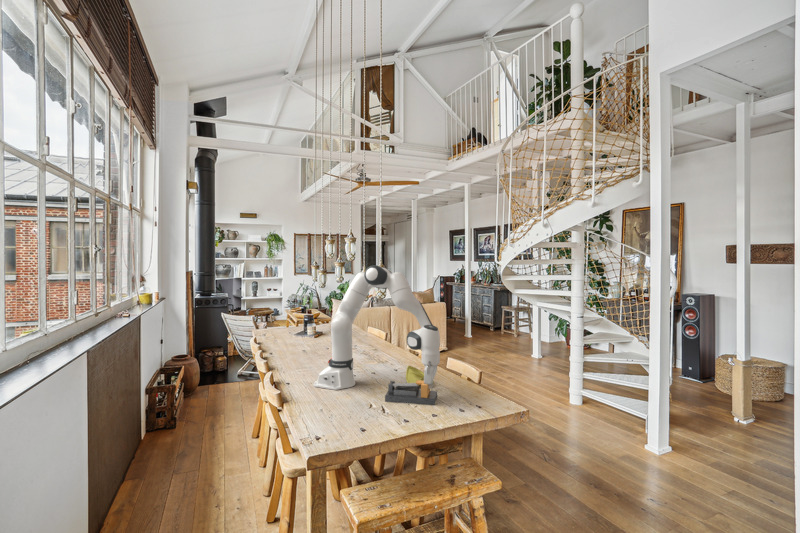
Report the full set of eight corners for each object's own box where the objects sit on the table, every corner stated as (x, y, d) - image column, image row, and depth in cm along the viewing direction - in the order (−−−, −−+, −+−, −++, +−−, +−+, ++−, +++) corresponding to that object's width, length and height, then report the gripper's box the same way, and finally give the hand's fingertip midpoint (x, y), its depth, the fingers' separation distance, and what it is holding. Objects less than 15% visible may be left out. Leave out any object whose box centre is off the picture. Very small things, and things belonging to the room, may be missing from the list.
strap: (389, 386, 193) (389, 384, 193) (391, 385, 195) (390, 382, 195) (417, 386, 190) (417, 384, 190) (418, 384, 193) (417, 382, 193)
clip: (414, 396, 187) (414, 384, 187) (418, 389, 197) (418, 378, 196) (427, 397, 186) (427, 385, 185) (430, 390, 195) (430, 379, 195)
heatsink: (385, 401, 189) (384, 386, 189) (390, 393, 200) (390, 379, 200) (434, 405, 184) (434, 389, 184) (437, 397, 195) (437, 382, 195)
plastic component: (435, 382, 210) (420, 376, 207) (429, 395, 210) (414, 389, 206) (420, 370, 229) (406, 364, 225) (415, 381, 228) (401, 376, 225)
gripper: (434, 365, 179) (434, 395, 179) (439, 354, 199) (439, 381, 199) (420, 364, 180) (420, 394, 181) (427, 353, 200) (427, 380, 201)
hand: (430, 387), depth 190 cm, fingers closed
